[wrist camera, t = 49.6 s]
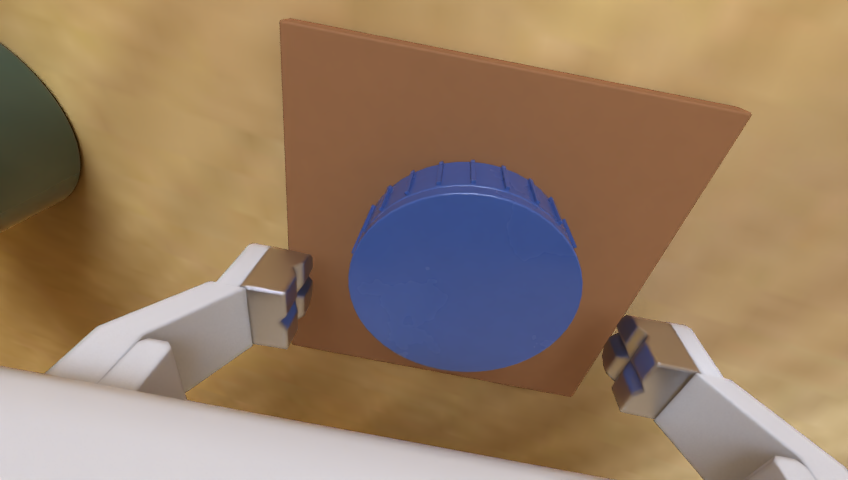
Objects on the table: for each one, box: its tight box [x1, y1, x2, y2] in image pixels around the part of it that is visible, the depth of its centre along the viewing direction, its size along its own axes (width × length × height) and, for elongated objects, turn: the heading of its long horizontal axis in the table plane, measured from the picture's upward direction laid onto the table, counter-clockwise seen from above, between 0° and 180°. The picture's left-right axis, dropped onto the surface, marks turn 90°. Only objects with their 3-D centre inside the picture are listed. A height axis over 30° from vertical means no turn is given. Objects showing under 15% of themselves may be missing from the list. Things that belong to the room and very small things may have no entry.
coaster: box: [280, 18, 751, 397], centre depth 12 cm, size 11×11×1 cm
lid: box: [348, 160, 583, 372], centre depth 11 cm, size 6×6×2 cm
